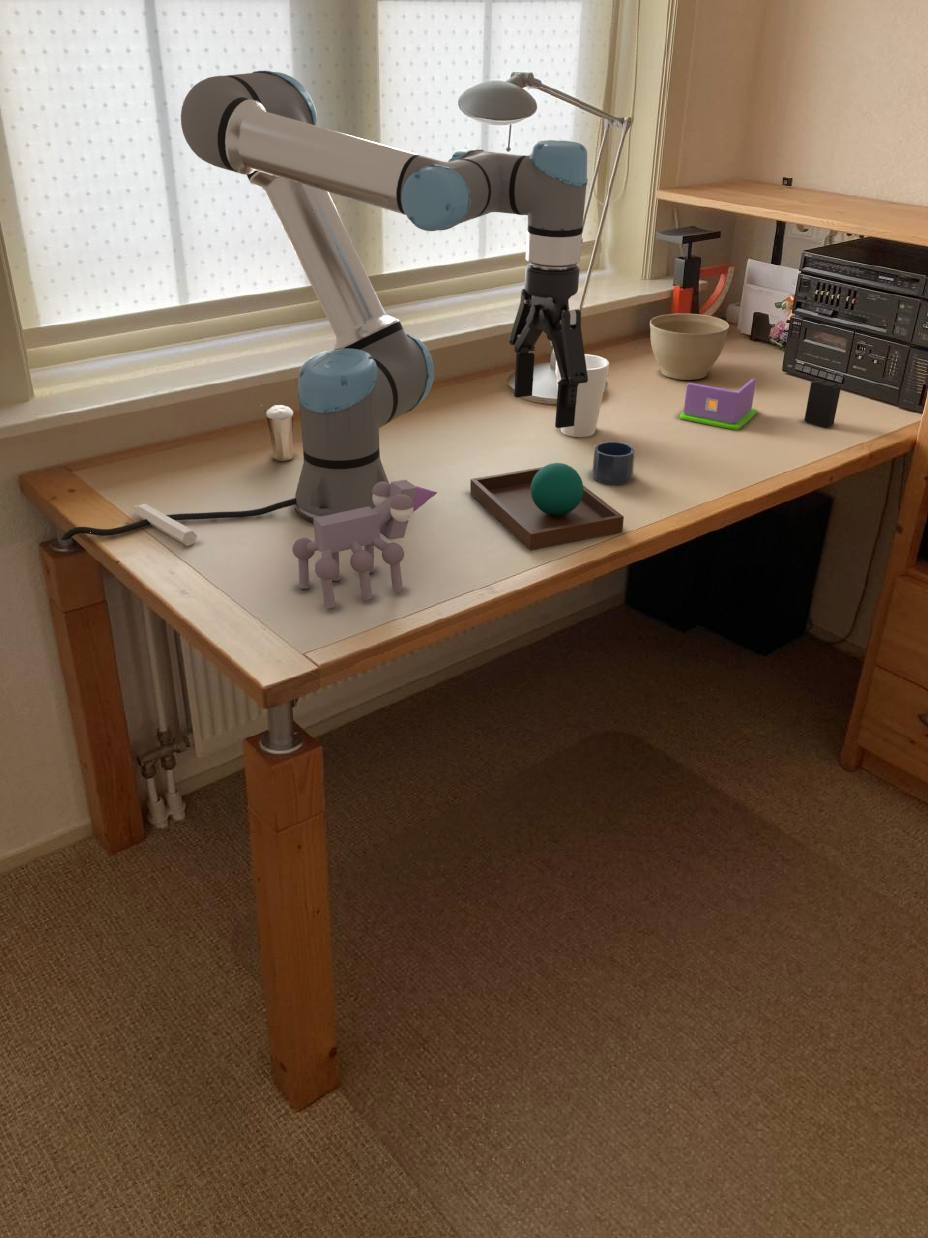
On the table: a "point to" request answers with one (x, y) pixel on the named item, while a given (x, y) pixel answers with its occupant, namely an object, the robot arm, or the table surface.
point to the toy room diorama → (719, 405)
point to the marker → (166, 524)
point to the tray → (533, 526)
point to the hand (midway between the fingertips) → (543, 410)
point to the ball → (557, 489)
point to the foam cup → (588, 397)
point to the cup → (613, 463)
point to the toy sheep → (361, 537)
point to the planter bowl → (687, 343)
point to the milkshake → (281, 431)
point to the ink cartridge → (822, 403)
